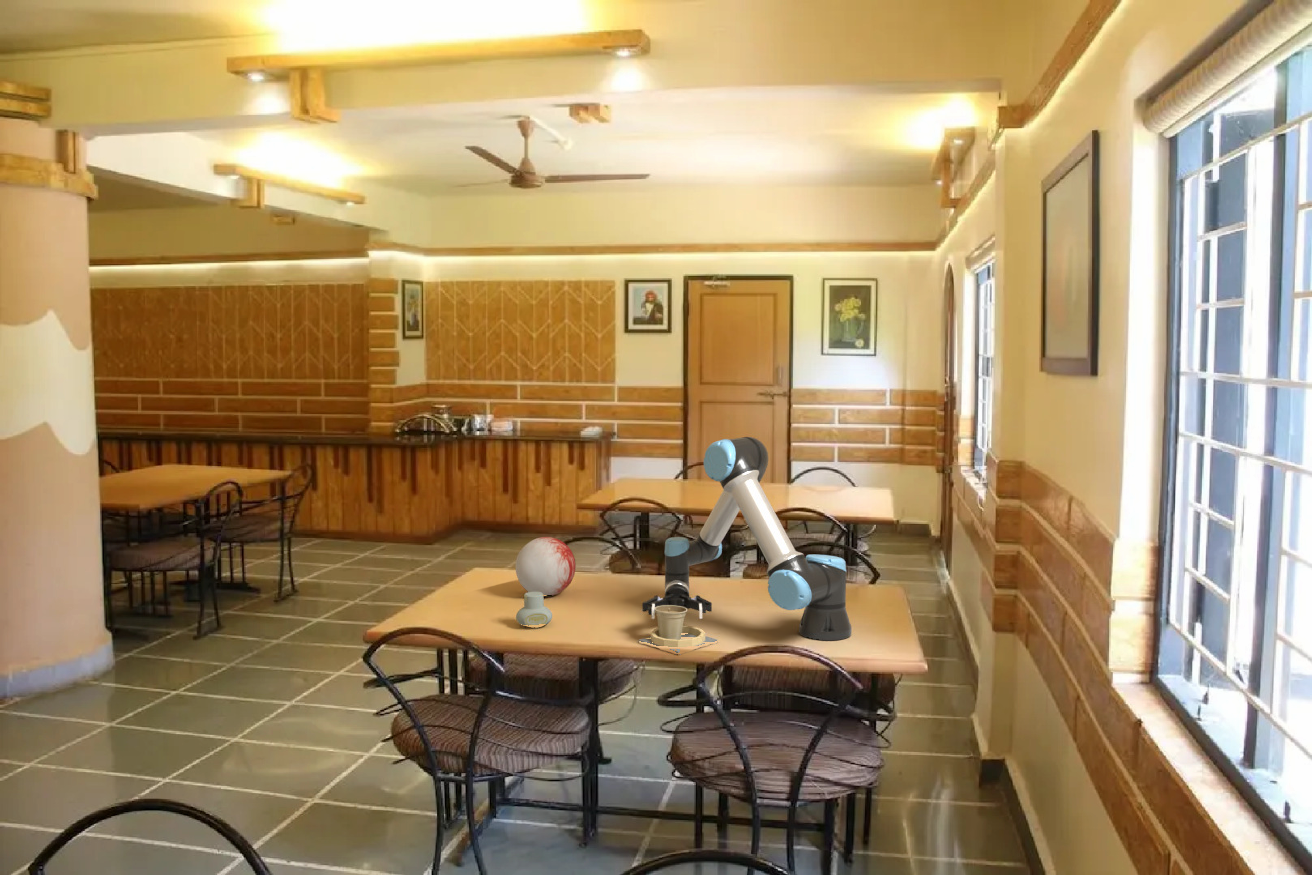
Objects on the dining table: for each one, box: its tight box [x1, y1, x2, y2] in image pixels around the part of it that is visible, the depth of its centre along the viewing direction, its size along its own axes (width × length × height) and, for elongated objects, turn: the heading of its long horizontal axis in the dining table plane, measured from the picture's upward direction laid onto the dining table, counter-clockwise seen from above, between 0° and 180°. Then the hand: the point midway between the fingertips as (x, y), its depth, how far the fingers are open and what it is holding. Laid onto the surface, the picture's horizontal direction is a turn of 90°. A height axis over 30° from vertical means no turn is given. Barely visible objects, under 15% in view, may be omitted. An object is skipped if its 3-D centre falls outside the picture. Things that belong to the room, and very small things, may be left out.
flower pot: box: [655, 605, 688, 640], centre depth 296 cm, size 9×9×9 cm
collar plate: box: [638, 625, 718, 653], centre depth 296 cm, size 16×16×3 cm
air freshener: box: [515, 591, 553, 626], centre depth 315 cm, size 11×8×10 cm
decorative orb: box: [515, 536, 577, 596], centre depth 351 cm, size 21×20×20 cm
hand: (676, 614), depth 295 cm, fingers open, 13 cm apart
